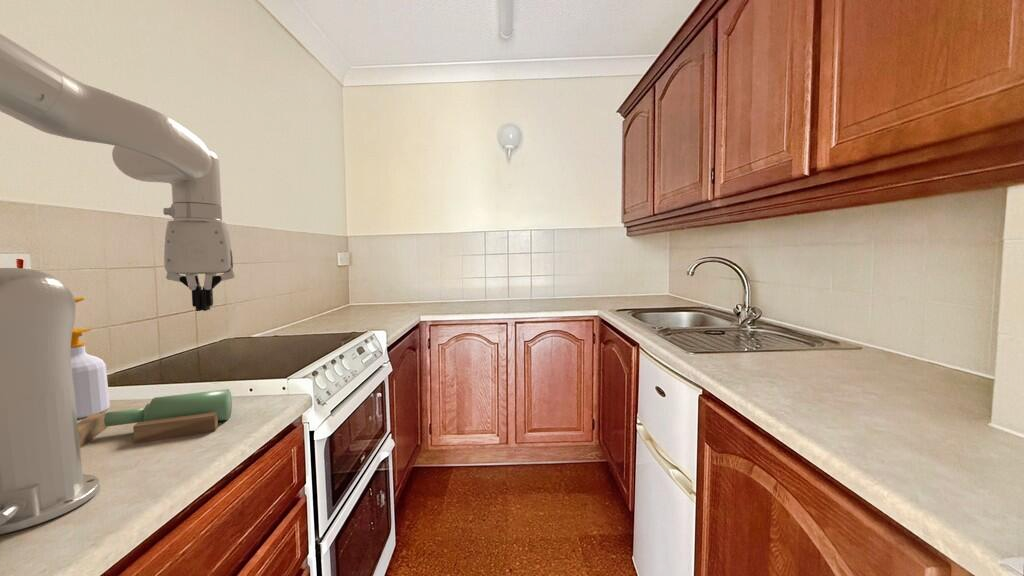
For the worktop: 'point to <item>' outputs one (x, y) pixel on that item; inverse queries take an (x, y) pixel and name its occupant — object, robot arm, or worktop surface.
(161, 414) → the bottle
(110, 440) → the worktop surface
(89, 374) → the soap bottle
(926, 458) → the worktop surface
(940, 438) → the worktop surface
